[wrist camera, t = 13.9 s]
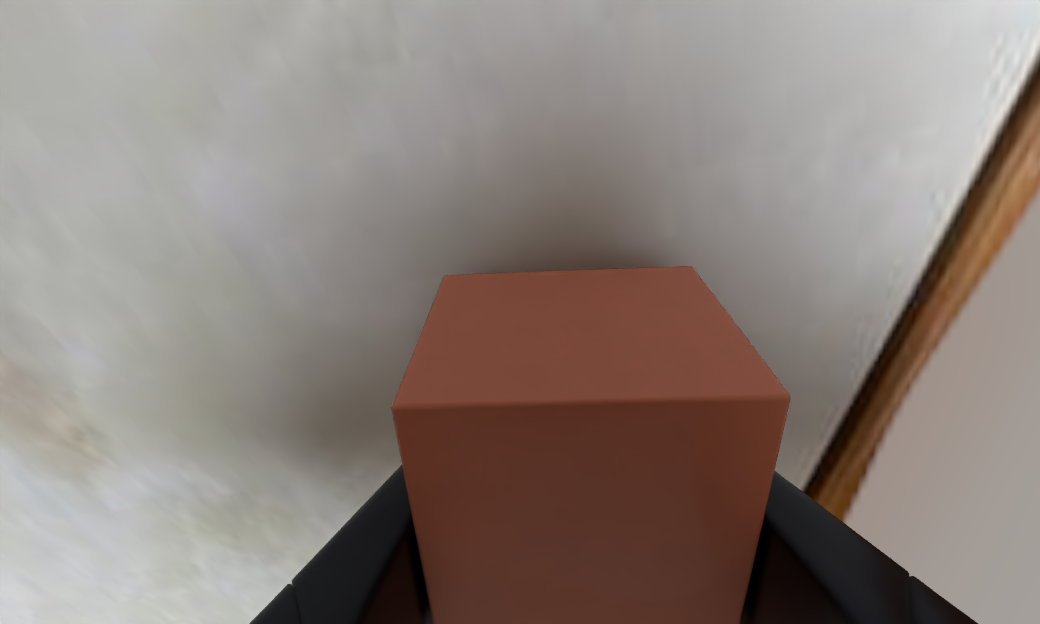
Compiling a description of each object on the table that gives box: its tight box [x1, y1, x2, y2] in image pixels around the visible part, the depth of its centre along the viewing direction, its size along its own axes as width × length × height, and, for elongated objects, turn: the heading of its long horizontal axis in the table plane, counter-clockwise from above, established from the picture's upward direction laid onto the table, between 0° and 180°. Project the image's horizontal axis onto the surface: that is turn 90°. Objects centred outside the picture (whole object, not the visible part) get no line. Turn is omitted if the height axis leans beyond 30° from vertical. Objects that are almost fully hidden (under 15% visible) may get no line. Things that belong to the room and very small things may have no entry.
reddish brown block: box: [391, 266, 790, 624], centre depth 9 cm, size 6×4×4 cm
